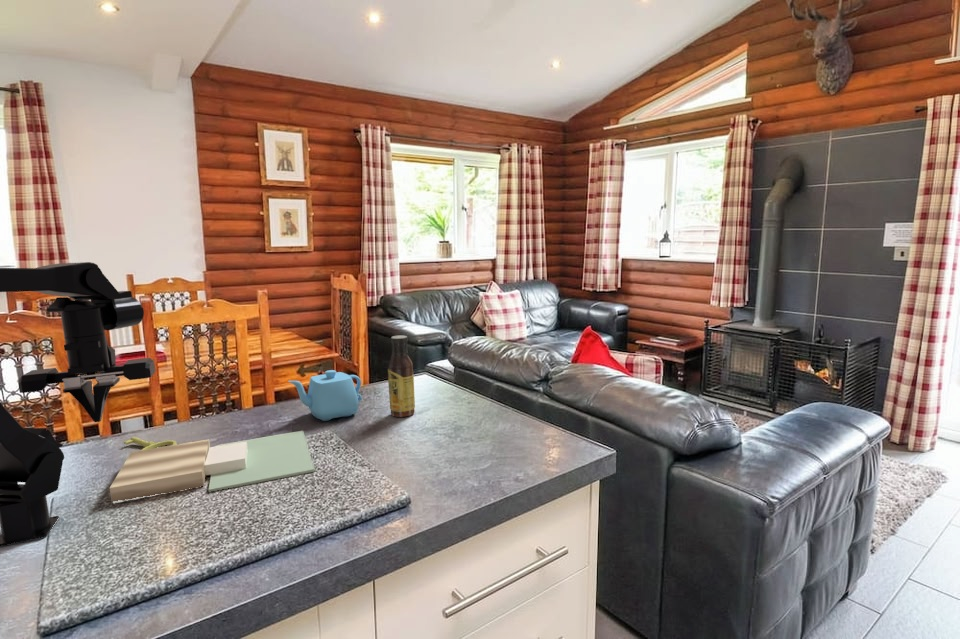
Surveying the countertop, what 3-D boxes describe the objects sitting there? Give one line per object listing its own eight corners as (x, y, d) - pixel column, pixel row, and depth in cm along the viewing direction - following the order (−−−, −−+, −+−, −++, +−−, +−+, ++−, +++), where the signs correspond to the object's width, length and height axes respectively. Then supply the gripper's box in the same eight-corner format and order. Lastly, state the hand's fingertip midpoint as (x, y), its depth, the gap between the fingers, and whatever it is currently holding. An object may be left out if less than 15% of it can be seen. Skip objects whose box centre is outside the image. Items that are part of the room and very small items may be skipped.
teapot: (286, 416, 135) (282, 373, 133) (355, 403, 144) (351, 362, 142) (297, 430, 124) (293, 382, 123) (371, 414, 133) (367, 370, 132)
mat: (314, 471, 100) (314, 469, 100) (208, 492, 93) (208, 489, 93) (303, 432, 122) (303, 430, 122) (216, 447, 115) (216, 445, 115)
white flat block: (246, 468, 102) (244, 458, 102) (205, 475, 99) (204, 465, 99) (247, 450, 111) (246, 441, 111) (210, 456, 109) (209, 447, 108)
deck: (203, 486, 96) (201, 471, 95) (112, 504, 90) (109, 488, 90) (210, 452, 112) (209, 439, 112) (133, 466, 107) (131, 451, 106)
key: (133, 444, 120) (132, 435, 120) (182, 446, 118) (180, 437, 118) (106, 457, 113) (105, 448, 113) (157, 459, 111) (156, 449, 111)
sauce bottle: (387, 413, 134) (382, 335, 131) (411, 408, 137) (406, 333, 134) (394, 420, 128) (389, 339, 125) (419, 415, 131) (414, 336, 128)
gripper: (154, 324, 103) (164, 401, 105) (35, 334, 96) (49, 417, 98) (144, 331, 93) (155, 417, 95) (9, 343, 85) (25, 436, 88)
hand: (98, 421), depth 94 cm, fingers closed
